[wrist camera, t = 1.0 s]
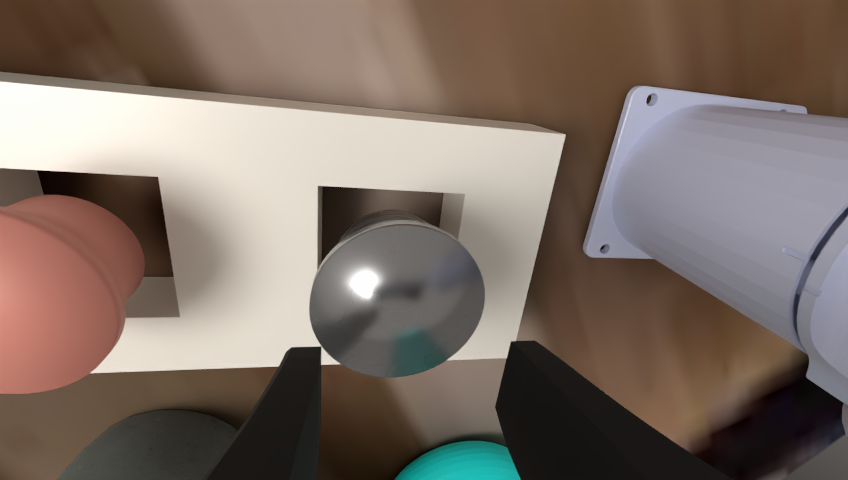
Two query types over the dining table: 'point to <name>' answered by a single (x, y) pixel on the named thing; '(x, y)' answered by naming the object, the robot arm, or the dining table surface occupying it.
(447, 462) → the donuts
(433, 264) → the grey plug
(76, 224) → the red plug
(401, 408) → the dining table surface
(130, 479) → the bottle
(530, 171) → the socket block
